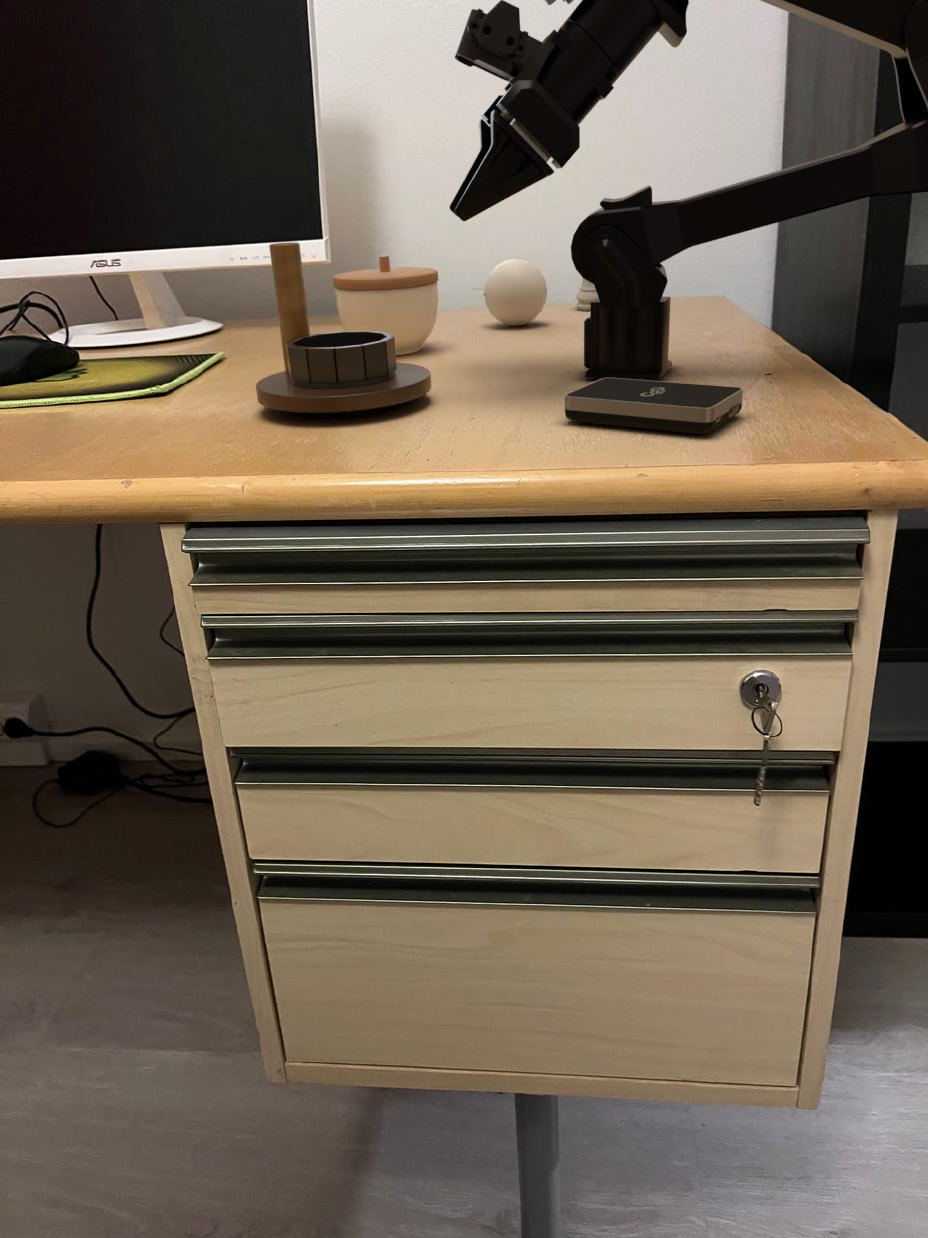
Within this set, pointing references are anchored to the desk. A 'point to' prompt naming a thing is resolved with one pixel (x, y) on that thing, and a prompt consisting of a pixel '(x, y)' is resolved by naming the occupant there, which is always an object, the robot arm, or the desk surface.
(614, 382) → the external hard drive
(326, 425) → the desk surface
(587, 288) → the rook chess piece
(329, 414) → the turntable hub
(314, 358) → the turntable
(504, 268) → the seamed sphere
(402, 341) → the trinket box
